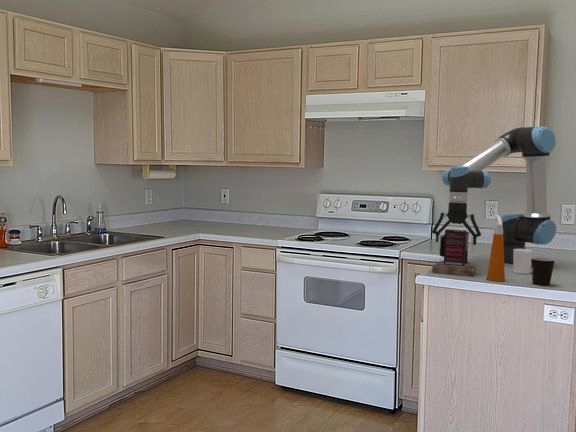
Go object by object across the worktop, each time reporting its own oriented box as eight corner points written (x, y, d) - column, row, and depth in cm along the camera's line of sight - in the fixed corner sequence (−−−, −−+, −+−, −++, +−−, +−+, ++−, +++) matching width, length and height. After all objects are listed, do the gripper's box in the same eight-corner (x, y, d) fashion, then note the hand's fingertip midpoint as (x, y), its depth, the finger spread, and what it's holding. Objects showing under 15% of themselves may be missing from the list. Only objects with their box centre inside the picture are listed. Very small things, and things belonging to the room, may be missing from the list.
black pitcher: (460, 260, 293) (462, 230, 291) (480, 266, 278) (482, 234, 276) (435, 261, 288) (436, 230, 287) (454, 267, 273) (456, 234, 272)
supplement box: (465, 266, 259) (467, 230, 258) (463, 268, 255) (465, 231, 253) (445, 264, 263) (446, 228, 261) (442, 266, 259) (444, 229, 257)
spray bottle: (501, 277, 251) (505, 214, 249) (506, 282, 240) (510, 216, 238) (483, 276, 252) (487, 213, 250) (488, 281, 242) (491, 216, 239)
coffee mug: (548, 287, 233) (550, 261, 232) (526, 283, 238) (527, 258, 237) (558, 283, 241) (560, 258, 240) (536, 279, 247) (538, 255, 246)
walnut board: (475, 272, 261) (476, 266, 261) (473, 276, 250) (473, 270, 250) (436, 268, 268) (436, 262, 268) (432, 272, 257) (432, 267, 256)
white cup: (535, 274, 260) (536, 251, 259) (519, 274, 258) (521, 251, 257) (523, 270, 268) (524, 248, 267) (508, 271, 266) (509, 248, 265)
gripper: (426, 201, 257) (424, 250, 259) (488, 203, 248) (485, 254, 250) (429, 200, 264) (427, 247, 266) (489, 202, 255) (486, 252, 257)
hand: (455, 251), depth 258 cm, fingers open, 13 cm apart
